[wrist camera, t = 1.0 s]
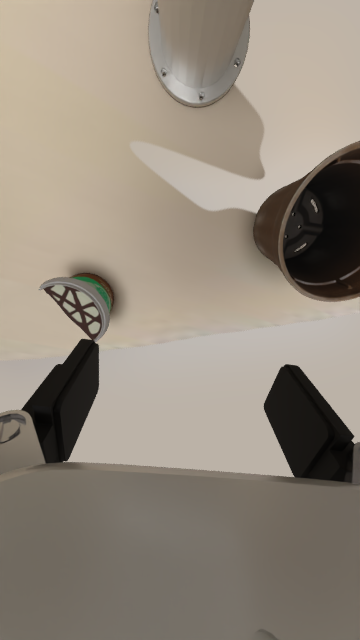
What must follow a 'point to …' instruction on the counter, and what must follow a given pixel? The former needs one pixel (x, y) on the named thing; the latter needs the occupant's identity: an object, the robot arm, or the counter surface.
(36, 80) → the counter surface
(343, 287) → the plant pot
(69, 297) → the food container
